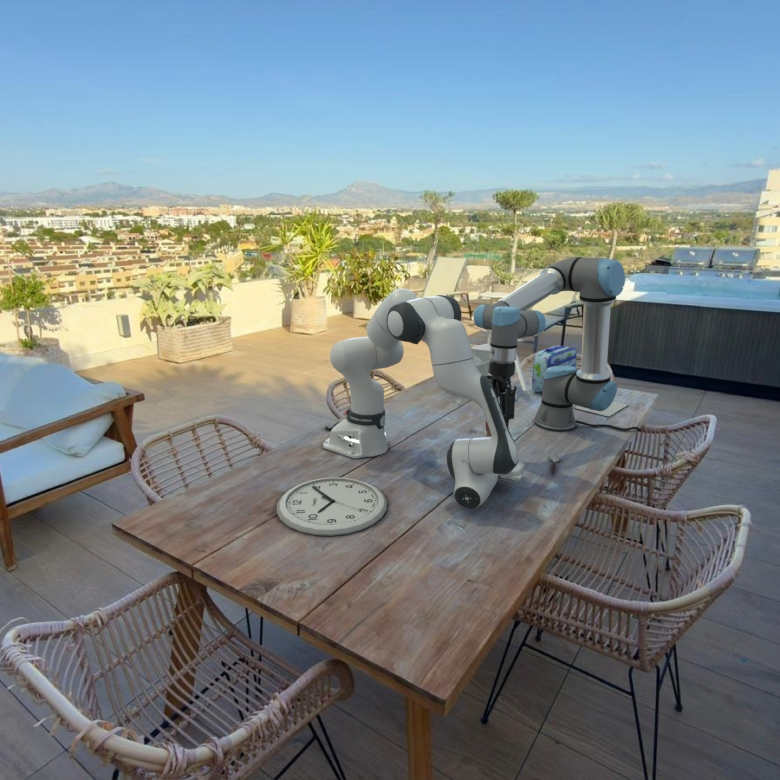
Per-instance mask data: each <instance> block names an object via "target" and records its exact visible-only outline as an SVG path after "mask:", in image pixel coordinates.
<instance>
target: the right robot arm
mask: <svg viewBox="0 0 780 780" xmlns="http://www.w3.org/2000/svg"><path fill="white" fill-rule="evenodd" d="M625 285H626V272H625V269H624V266H623V264H622V263H621V261H619V260H617V259H612V258H606V257H588V256H587V257H586V256H585V257H584V256H582V257H581V256H571V257H568V258H564V259H561V260H559V261H557V262H555V263H553V264H550V265H549V266H547V267H546V268H544V269H542V270H541V271H540V273H539V275H538V276H536V277H535V278H533V279H531V280H530V281H528V282H526V283H525V284H523V285H521V286H520V287H518V288H517V289H515V290H514V291H512V292H510V293H509V294H507V295H506V296H504V297H502V298H500V299H498V300H497V301H496V302H494V303H492V304H488V303H487V304H480V305H478V306H477V307H476V308H475V310H474V312H473V316H472V317H473V322H474V325H475V326H476V327H477V328H480V329H484V330H486V331H487V330H488V331H491V332H490V334H491V335H490V359H491V360H490V361H489V370H488V372H489V374H487V375H486V376H485V377H488V378H489V380H490V381H491V383H492V385H493V388H494V390H495V392H496V395H497V398H498V400H499V403H500V406H501V409H502V412H503V415H504V418H505V420H506V423H507V426H508V427H509V424H510V423H509V422H510V420H514V419H515V409H516V408H515V407H516V406H515V404H516V399H515V393H516V394H517V386H516V385H514V386H512V385H511V380H510V377H511V378H512V376H514V375H515V373H516V366H515V362H514V361H515V360H516V353H517V354H518V352H517V351H518V340H519V339H523V338H529V337H535V336H537V335H540V334H541V333H542V332H544V330H545V329H546V326H547V320H546V316H545V315H544V314H543V312H541V311H540V310H537V309H534V310H532V309H531V308H533V307H534V306H536V305H538V304H539V303H540V302H542V301H543V300H545V299H547V298H548V297H550V296H551V295H552V296H554V295H558V294H559V293H561V292H575V293H579V298H578V299H579V301H580V302H581V304H582V305H583V311H582V312H583V314H582V337H581V355H580V356H581V361H580V368H579V369H578V368H577V367H576V366H575V367H572V366H554V367H550V368H547V369H546V371H545V374H544V378H543V380H544V381H543V391H542V394H541V402H540V405H539V407H538V410H537V411H536V413H535V417H534V424H535V425H536V426H537V427H539V428H542V429H544V430H549V431H556V432H567V431H572V430H574V429H575V428H576V424H578V425H579V424H580V425H583V426H587V427H591V428H600V427H601V428H611V429H614V430H617V431H623V432H625V431H631V430H637V432H642V429H641V428H640V427H638V426H630V427H620V426H615V425H612V424H605V423H601V424H595V423H594V424H593V423H588V422H584V421H580V420H578V419H576V418H575V417H576V416H575V413H574V407H573V405H574V406H581V407H585V408H588V409H590V410H596V411H604V410H606V409H607V408H608V407H609V406H610V405H611V403H612V402H613V401H614V400H615V398H616V395H617V392H618V385H617V382H615V381H614V380H611V379H612V378H611V377H612V373H611V372H610V371H609V369H608V355H609V353H608V352H609V339H610V326H611V325H610V323H611V311H612V310H611V309H612V308H611V307H612V304H613V303H614V302H615V301H617V297H618V296H619V295H621V294H622V292H623V290H624V287H625ZM485 431H486V432H487V428H486V427H485Z"/></svg>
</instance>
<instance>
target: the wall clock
mask: <svg viewBox="0 0 780 780" xmlns="http://www.w3.org/2000/svg"><path fill="white" fill-rule="evenodd" d="M387 509H388V500H387V498H386V496H385V494H384V493H383V492H382V491H381V490H380V489H379V488H377V487H376V486H374V485H372V484H371V483H369V482H365V481H362V480H359V479H355V478H349V477H338V476H337V477H335V476H333V477H332V476H331V477H322V478H317V479H312V480H307V481H305V482H302V483H299V484H297V485H295V486H293V487H292V488H290V489H288V490H287V491H286V492H285V493H284V494H283V495H281V496H280V498H279V499H278V502H277V503H276V515H277V517H278V518H279V520H280V521H281V522H282V523H283V524H285V525H286V526H287V527H288V528H290V529H293V530H295V531H297V532H299V533H303V534H308V535H312V536H327V537H328V536H329V537H331V536H332V537H333V536H342V535H350V534H352V533H356V532H361V531H363V530H366V529H368V528H369V527H372V526H373V525H375V524H376V523H378V522H379V521H380V520H381V519H382V518H383V517H384V516H385V514H386V512H387Z"/></svg>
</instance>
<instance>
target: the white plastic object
mask: <svg viewBox="0 0 780 780" xmlns="http://www.w3.org/2000/svg"><path fill="white" fill-rule="evenodd" d="M490 347H491V344H489V343H488V342H487V343H483V344H479V345H473V346H471V348H472V353H473V358H474V362H475V365H476V367H477V369H478V370H479V372H480V373H481V374H482V375H483V376H485V377H486V375H490V373H489V372H488V370H489V361H490V360H491V359H490ZM514 362H515V370H516V372H517V376H518V380H519V382H520V385H521V389H522V391H523V393H524V395H525V396H526V397H528V396H531V395H530V390H529V388H528V387H529V386H528V384H527V381H526V378H525V375H524V371H523V369H522V368H523V367H522V366H521V362H520V359H519V355H518V352H517V353H516V360H515V361H514ZM510 380H511V385H512V386H515V385H514V381H513V378H512V376H511V377H510ZM515 400H517V392H516V393H515Z"/></svg>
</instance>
